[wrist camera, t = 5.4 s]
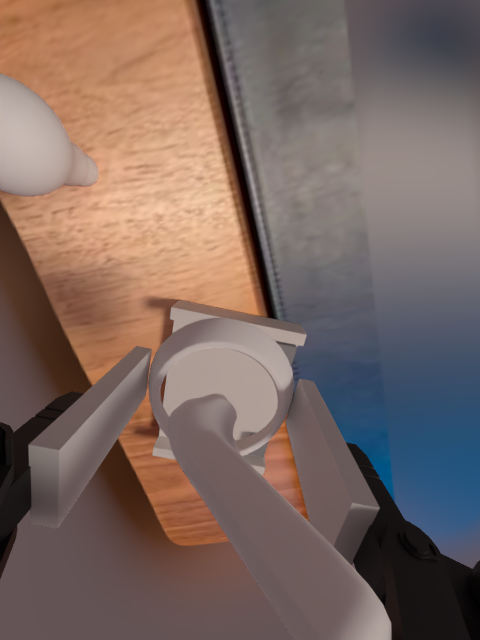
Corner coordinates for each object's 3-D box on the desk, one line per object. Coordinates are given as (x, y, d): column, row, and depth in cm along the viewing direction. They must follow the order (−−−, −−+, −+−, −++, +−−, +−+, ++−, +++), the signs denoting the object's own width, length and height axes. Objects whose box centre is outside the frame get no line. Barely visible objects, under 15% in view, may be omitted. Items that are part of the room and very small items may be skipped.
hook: (488, 492, 9) (400, 765, 6) (259, 380, 18) (184, 460, 15) (489, 315, 5) (282, 745, 2) (210, 293, 15) (102, 373, 12)
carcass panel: (179, 299, 26) (171, 307, 23) (300, 324, 27) (306, 334, 24) (161, 435, 32) (152, 455, 29) (261, 454, 32) (262, 475, 29)
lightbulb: (125, 212, 24) (30, 191, 13) (60, 206, 24) (-87, 181, 13) (121, 136, 22) (5, 41, 11) (50, 130, 22) (-130, 29, 11)
